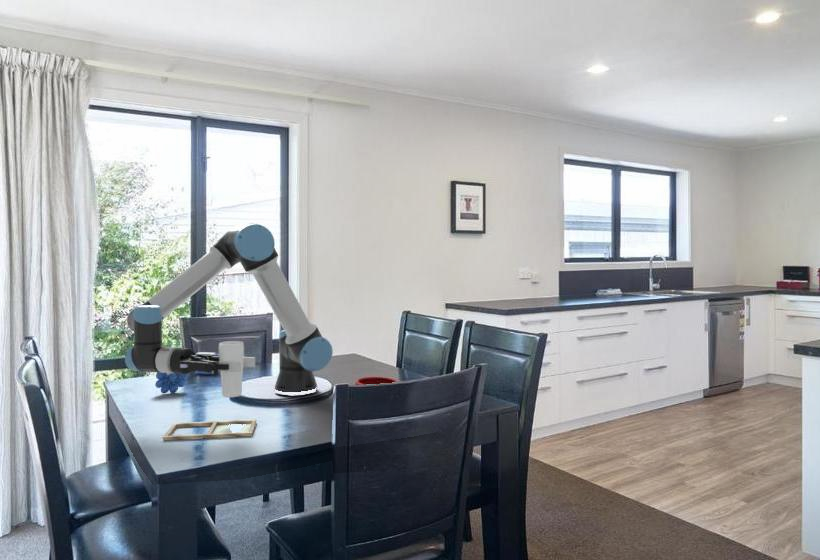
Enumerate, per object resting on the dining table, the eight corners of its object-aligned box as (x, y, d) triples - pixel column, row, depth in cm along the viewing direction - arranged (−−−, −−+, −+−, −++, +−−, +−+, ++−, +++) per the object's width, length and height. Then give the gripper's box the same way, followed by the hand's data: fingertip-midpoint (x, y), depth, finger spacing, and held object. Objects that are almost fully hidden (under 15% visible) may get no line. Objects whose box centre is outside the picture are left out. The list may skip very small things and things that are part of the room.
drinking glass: (249, 393, 163) (248, 341, 162) (234, 399, 156) (234, 345, 156) (229, 391, 165) (228, 340, 164) (214, 397, 158) (213, 343, 158)
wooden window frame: (256, 422, 168) (256, 419, 168) (251, 436, 156) (251, 432, 156) (174, 426, 164) (174, 423, 164) (162, 440, 152) (162, 437, 152)
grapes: (186, 388, 212) (186, 356, 211) (191, 392, 206) (191, 359, 206) (152, 393, 205) (152, 359, 204) (156, 396, 199) (156, 362, 199)
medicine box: (195, 374, 238) (194, 353, 238) (200, 371, 243) (200, 351, 242) (212, 374, 237) (212, 353, 237) (218, 372, 242) (217, 352, 241)
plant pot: (363, 428, 163) (363, 386, 163) (349, 416, 175) (349, 377, 175) (405, 423, 169) (405, 382, 168) (389, 411, 181) (389, 374, 180)
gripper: (197, 367, 174) (265, 371, 168) (153, 380, 156) (227, 385, 150) (197, 342, 174) (265, 346, 168) (153, 353, 155) (227, 357, 149)
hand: (247, 364), depth 159 cm, fingers closed on drinking glass, 7 cm apart
